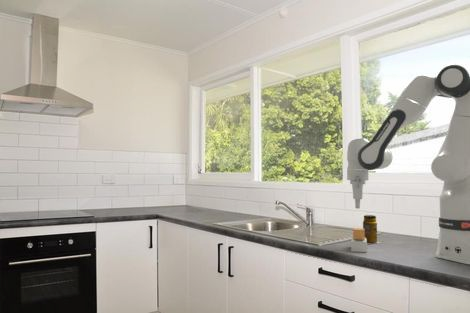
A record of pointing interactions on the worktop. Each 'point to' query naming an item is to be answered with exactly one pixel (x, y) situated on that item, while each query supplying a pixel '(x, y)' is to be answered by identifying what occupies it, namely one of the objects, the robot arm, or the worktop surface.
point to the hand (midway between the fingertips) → (357, 208)
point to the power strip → (358, 245)
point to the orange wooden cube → (359, 233)
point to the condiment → (370, 228)
